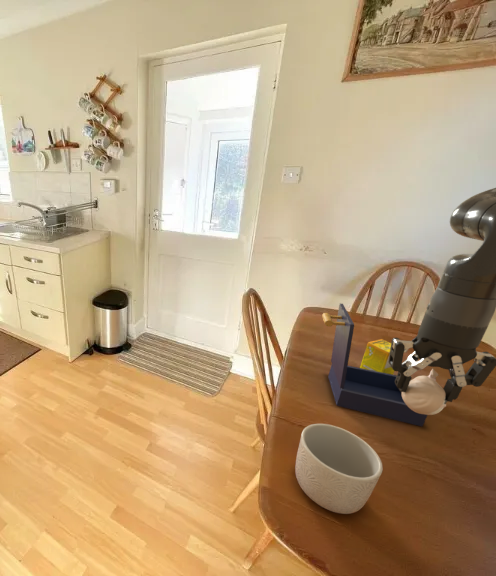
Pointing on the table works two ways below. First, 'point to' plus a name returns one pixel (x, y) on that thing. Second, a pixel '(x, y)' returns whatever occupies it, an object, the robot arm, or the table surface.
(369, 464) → the planter
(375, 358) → the supplement box
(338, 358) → the cover
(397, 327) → the table surface
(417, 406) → the garlic bulb
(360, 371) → the hinged blue tray
